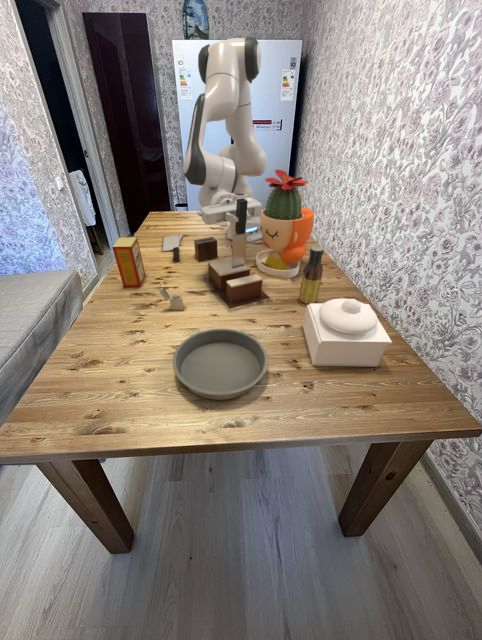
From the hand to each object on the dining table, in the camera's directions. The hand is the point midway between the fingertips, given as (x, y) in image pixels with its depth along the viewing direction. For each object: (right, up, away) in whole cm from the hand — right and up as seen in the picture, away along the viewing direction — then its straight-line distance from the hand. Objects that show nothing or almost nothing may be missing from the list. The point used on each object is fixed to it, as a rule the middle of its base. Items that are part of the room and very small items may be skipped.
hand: (242, 219), depth 87 cm
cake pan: (-6, -46, -11) cm, 47 cm away
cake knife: (-1, -11, +13) cm, 17 cm away
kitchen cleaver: (-32, +9, +51) cm, 61 cm away
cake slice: (+1, -21, +15) cm, 26 cm away
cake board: (-2, -17, +21) cm, 27 cm away
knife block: (-15, +2, +43) cm, 45 cm away
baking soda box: (-42, -13, +27) cm, 51 cm away
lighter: (-24, -26, +11) cm, 37 cm away
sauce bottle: (+23, -24, +14) cm, 36 cm away
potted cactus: (+18, -4, +36) cm, 41 cm away
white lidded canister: (+28, -39, -4) cm, 48 cm away
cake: (-4, -14, +25) cm, 29 cm away
